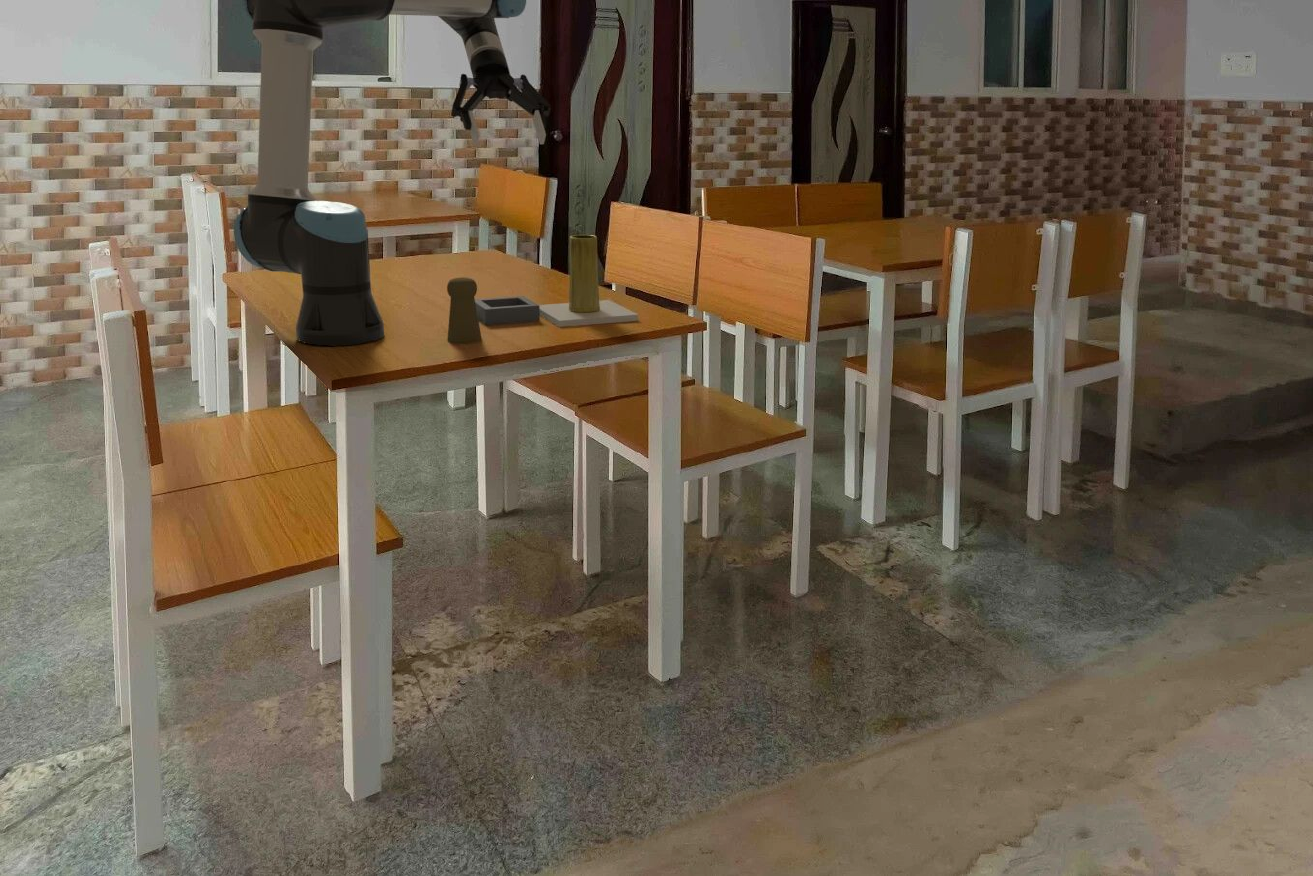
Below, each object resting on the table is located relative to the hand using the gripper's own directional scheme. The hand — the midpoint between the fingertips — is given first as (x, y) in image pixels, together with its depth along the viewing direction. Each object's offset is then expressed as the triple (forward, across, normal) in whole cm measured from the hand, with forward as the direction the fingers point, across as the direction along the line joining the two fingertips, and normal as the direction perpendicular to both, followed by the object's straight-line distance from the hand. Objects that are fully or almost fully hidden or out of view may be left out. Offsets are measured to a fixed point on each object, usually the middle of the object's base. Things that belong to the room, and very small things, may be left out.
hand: (510, 140), depth 220 cm
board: (+36, -9, -11) cm, 38 cm away
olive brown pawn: (+44, +18, -2) cm, 48 cm away
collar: (+33, +6, -13) cm, 36 cm away
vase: (+35, -9, -10) cm, 37 cm away
